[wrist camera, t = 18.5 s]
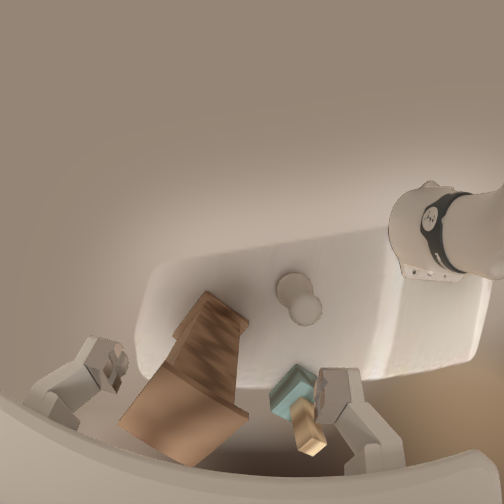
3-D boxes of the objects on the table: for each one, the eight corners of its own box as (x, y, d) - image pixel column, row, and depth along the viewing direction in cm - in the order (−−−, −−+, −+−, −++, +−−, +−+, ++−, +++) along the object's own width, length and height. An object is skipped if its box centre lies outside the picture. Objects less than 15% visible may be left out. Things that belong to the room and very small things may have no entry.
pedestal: (249, 321, 48) (248, 419, 23) (215, 361, 49) (191, 468, 23) (205, 290, 48) (161, 365, 22) (173, 332, 49) (117, 424, 23)
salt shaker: (274, 270, 47) (284, 290, 35) (309, 269, 47) (330, 287, 35) (275, 305, 48) (284, 335, 35) (309, 303, 48) (328, 332, 35)
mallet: (339, 433, 33) (313, 421, 33) (301, 465, 34) (275, 454, 33) (316, 376, 50) (295, 363, 50) (289, 404, 51) (269, 393, 50)
